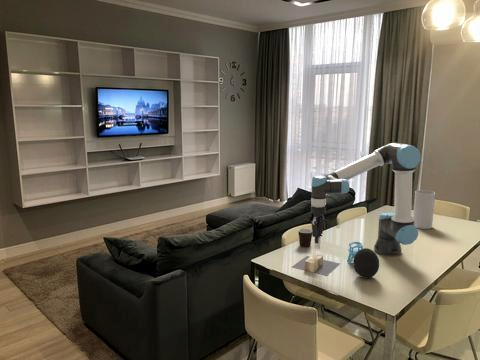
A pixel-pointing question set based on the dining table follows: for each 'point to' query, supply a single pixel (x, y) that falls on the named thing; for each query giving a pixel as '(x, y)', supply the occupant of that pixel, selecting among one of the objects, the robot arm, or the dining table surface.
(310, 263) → the wood block
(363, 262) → the decorative egg
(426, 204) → the cylinder vase
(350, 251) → the chair
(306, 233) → the coffee mug
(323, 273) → the mat
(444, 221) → the dining table surface
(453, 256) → the dining table surface
